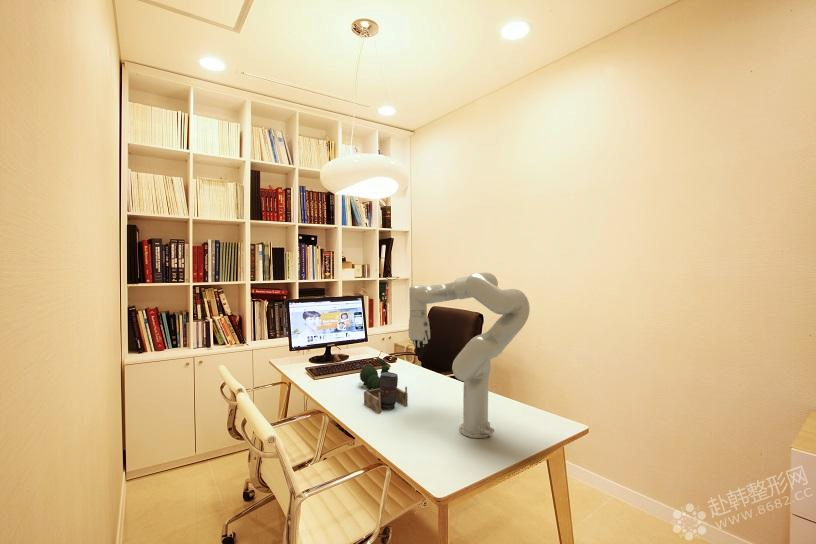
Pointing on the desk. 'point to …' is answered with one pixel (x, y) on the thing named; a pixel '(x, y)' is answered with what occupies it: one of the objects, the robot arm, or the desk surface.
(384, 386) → the dark barrel
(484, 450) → the desk surface
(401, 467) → the desk surface
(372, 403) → the walnut bay
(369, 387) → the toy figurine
